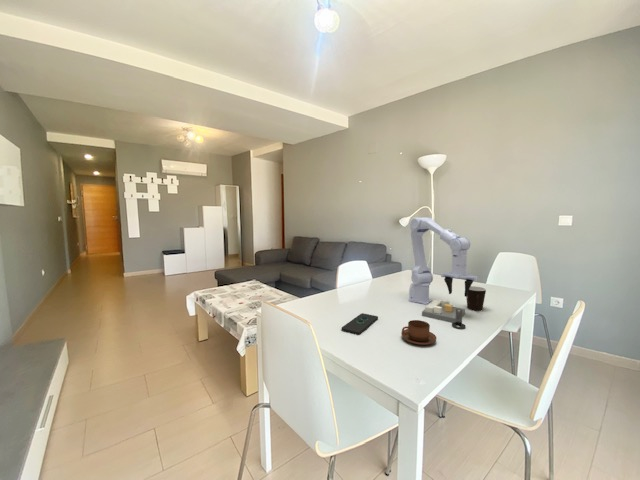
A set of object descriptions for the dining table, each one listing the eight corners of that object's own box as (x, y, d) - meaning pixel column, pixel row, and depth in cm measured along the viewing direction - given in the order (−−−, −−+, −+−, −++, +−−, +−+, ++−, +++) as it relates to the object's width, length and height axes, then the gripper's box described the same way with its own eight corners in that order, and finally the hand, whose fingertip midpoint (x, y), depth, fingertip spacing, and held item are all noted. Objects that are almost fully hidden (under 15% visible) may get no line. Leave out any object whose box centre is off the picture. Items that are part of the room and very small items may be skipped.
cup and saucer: (417, 350, 93) (417, 333, 93) (394, 336, 104) (394, 320, 104) (443, 344, 98) (444, 327, 97) (419, 331, 109) (419, 315, 108)
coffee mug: (468, 304, 140) (468, 285, 139) (487, 308, 134) (488, 288, 133) (459, 310, 132) (460, 289, 131) (479, 314, 126) (480, 293, 125)
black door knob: (450, 327, 112) (450, 310, 111) (453, 323, 116) (454, 307, 115) (463, 330, 109) (464, 312, 108) (466, 326, 113) (467, 309, 112)
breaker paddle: (444, 310, 125) (444, 305, 125) (445, 309, 127) (445, 304, 127) (451, 312, 123) (451, 306, 123) (452, 311, 125) (452, 305, 125)
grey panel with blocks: (421, 315, 125) (422, 305, 125) (433, 306, 137) (434, 297, 137) (455, 323, 116) (455, 312, 115) (464, 313, 128) (465, 303, 128)
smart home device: (378, 316, 122) (359, 332, 105) (378, 319, 122) (359, 336, 105) (361, 312, 126) (340, 327, 109) (361, 316, 126) (340, 331, 109)
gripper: (439, 264, 125) (438, 293, 126) (475, 268, 116) (474, 299, 117) (444, 262, 131) (443, 290, 132) (479, 265, 121) (477, 296, 122)
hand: (458, 294), depth 125 cm, fingers open, 6 cm apart
